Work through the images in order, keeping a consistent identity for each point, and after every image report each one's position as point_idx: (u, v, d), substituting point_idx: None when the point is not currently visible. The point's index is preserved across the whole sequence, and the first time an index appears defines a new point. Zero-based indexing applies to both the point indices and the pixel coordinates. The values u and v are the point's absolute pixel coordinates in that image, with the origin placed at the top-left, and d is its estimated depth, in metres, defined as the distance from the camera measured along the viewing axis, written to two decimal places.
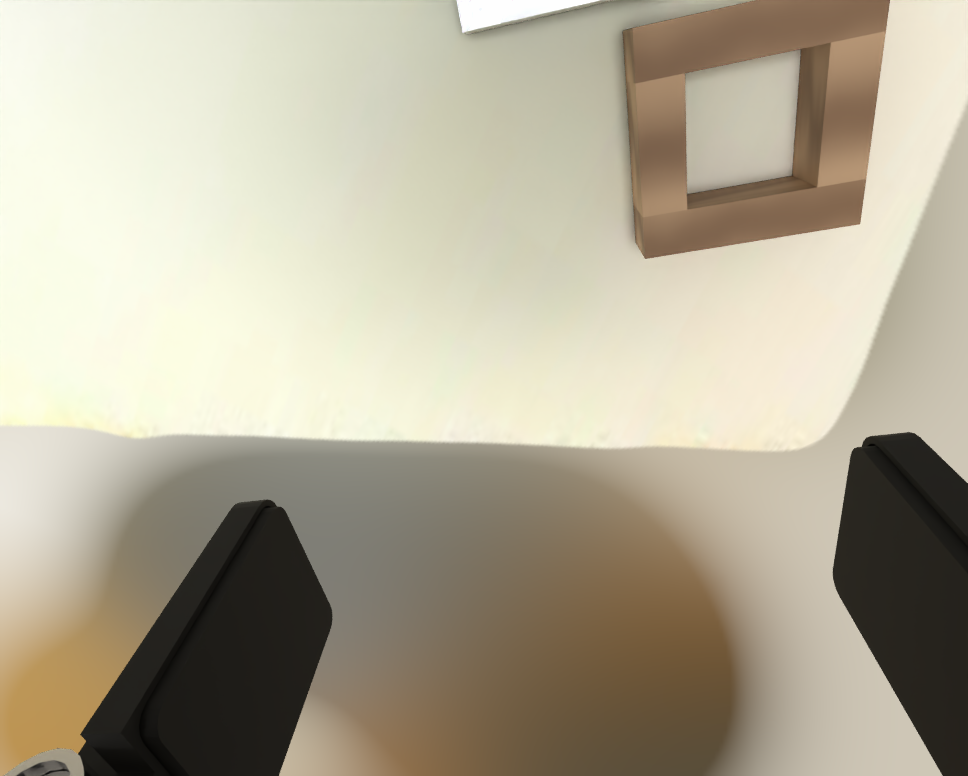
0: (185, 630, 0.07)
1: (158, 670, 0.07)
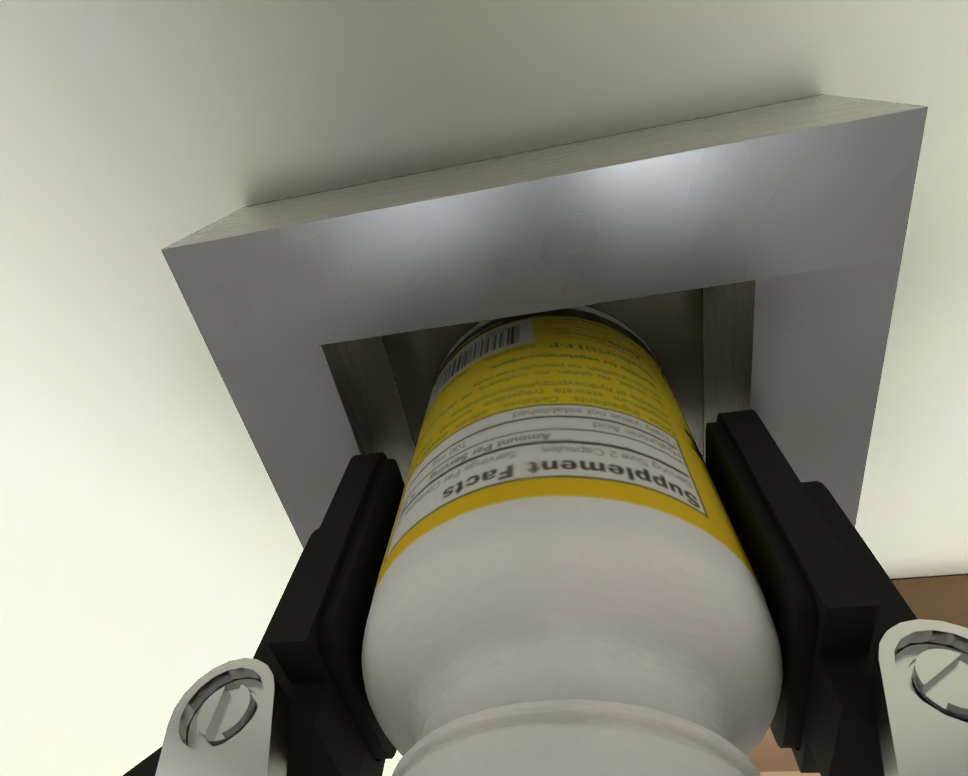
0: (339, 559, 0.08)
1: (325, 592, 0.07)
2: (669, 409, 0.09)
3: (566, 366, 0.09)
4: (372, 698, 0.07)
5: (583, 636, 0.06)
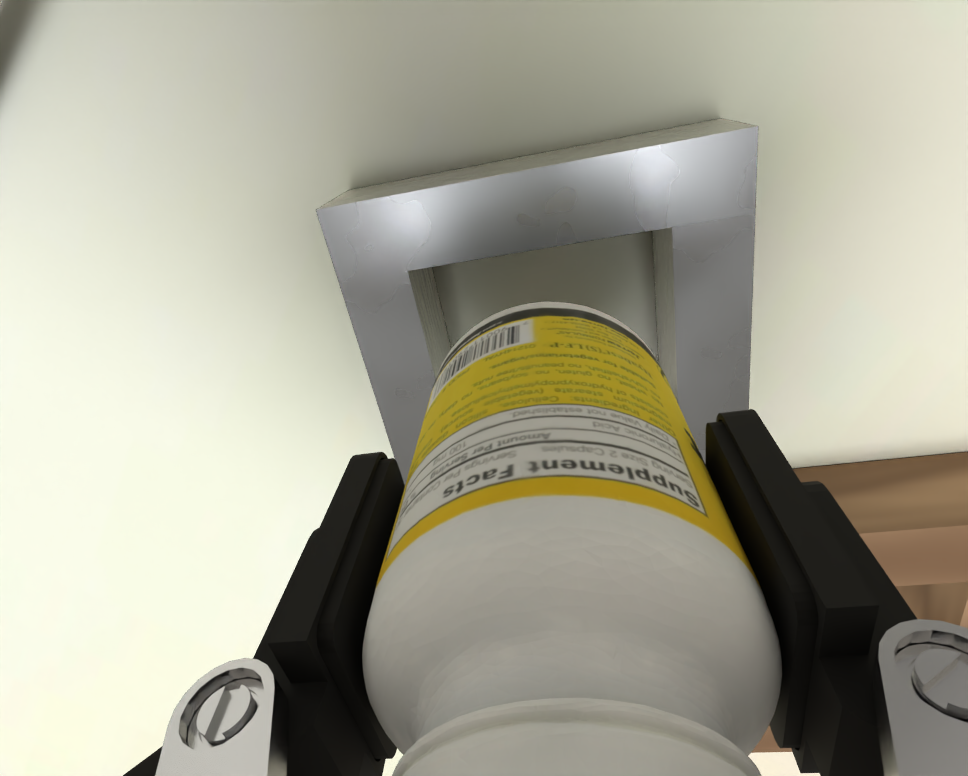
0: (338, 559, 0.08)
1: (325, 591, 0.07)
2: (669, 409, 0.09)
3: (566, 366, 0.09)
4: (373, 697, 0.07)
5: (583, 635, 0.06)
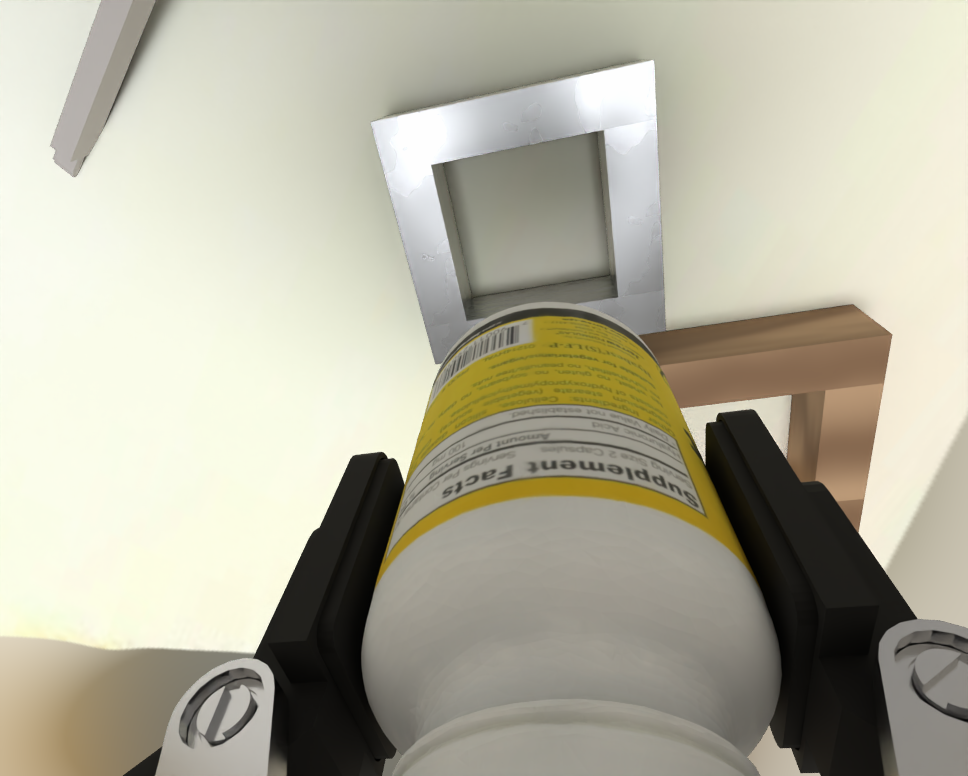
0: (338, 559, 0.08)
1: (325, 591, 0.07)
2: (669, 409, 0.09)
3: (566, 366, 0.09)
4: (372, 698, 0.07)
5: (583, 637, 0.06)
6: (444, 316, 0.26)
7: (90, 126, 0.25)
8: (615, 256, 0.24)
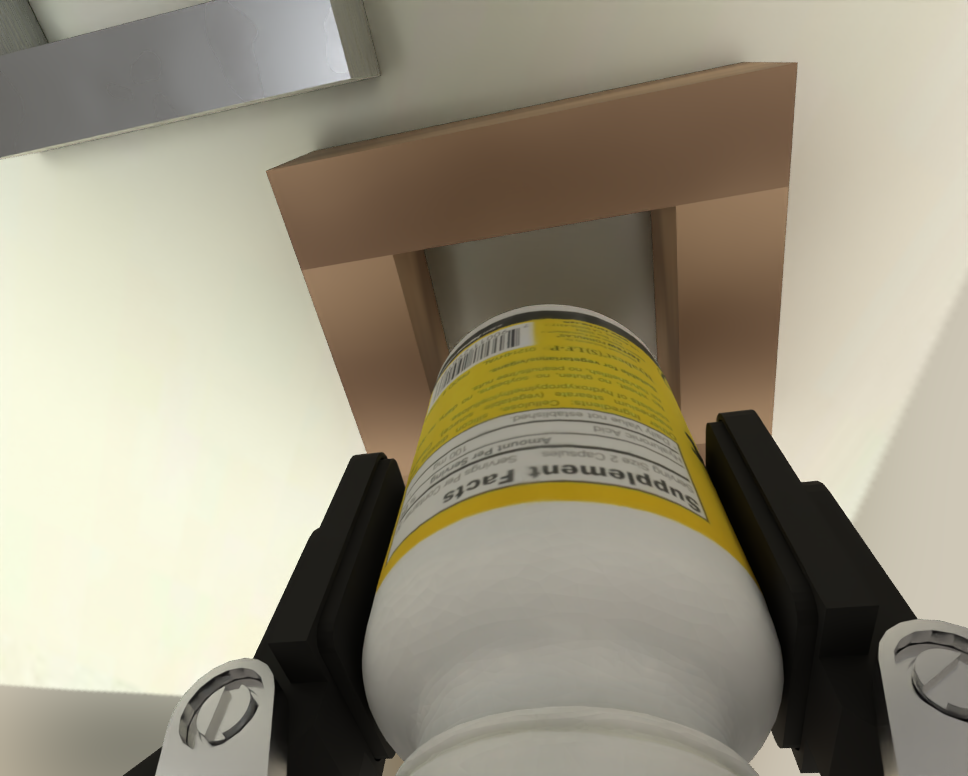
0: (338, 559, 0.08)
1: (325, 590, 0.07)
2: (670, 412, 0.09)
3: (567, 370, 0.09)
4: (372, 703, 0.07)
5: (584, 642, 0.06)
6: None
7: None
8: None
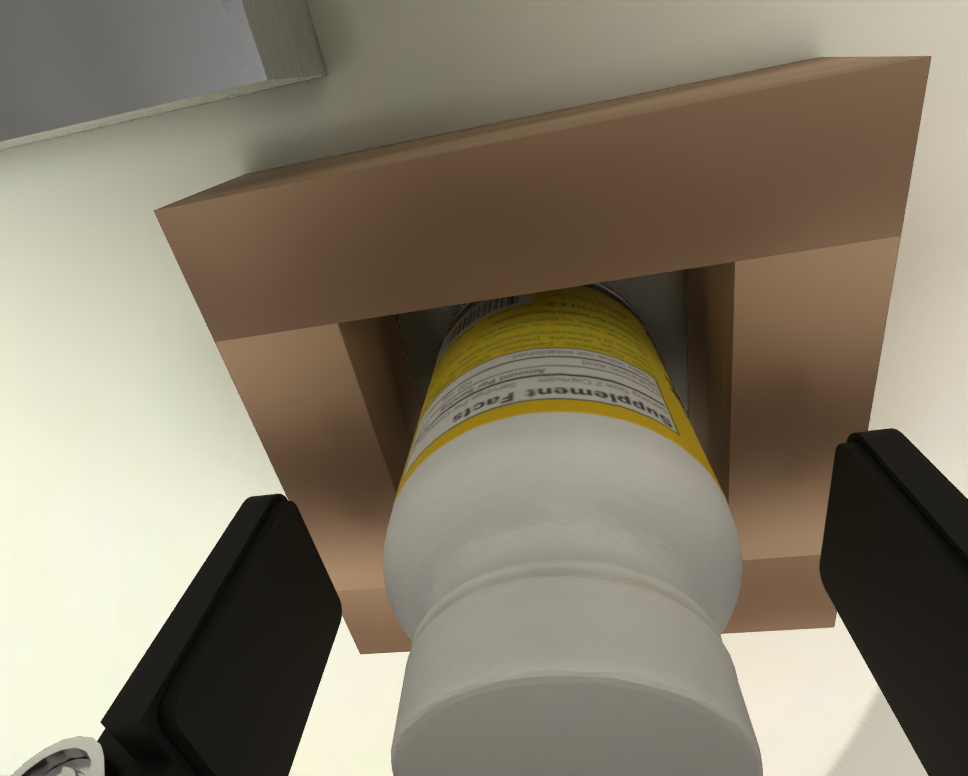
0: (201, 621, 0.07)
1: (177, 660, 0.07)
2: (651, 358, 0.10)
3: (560, 320, 0.10)
4: (392, 591, 0.08)
5: (572, 520, 0.07)
6: None
7: None
8: None
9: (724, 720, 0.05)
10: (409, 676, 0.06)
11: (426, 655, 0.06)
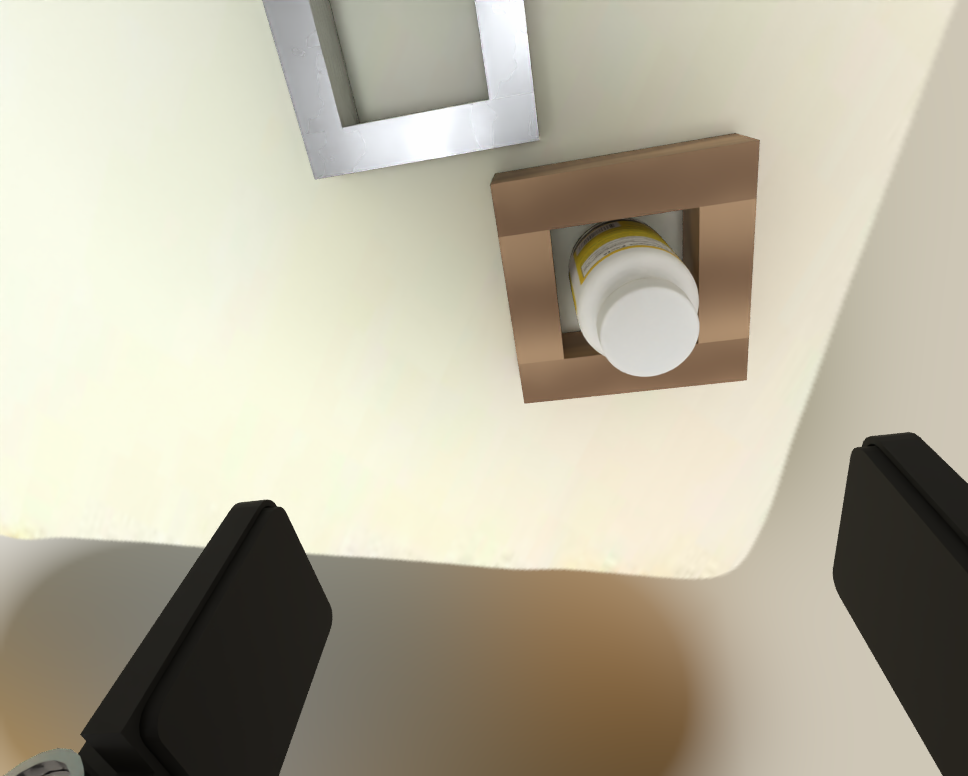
0: (185, 630, 0.07)
1: (159, 670, 0.07)
2: None
3: (634, 230, 0.27)
4: (584, 308, 0.25)
5: (647, 273, 0.24)
6: (319, 122, 0.26)
7: None
8: (483, 51, 0.24)
9: (689, 303, 0.22)
10: (604, 308, 0.23)
11: (610, 299, 0.23)
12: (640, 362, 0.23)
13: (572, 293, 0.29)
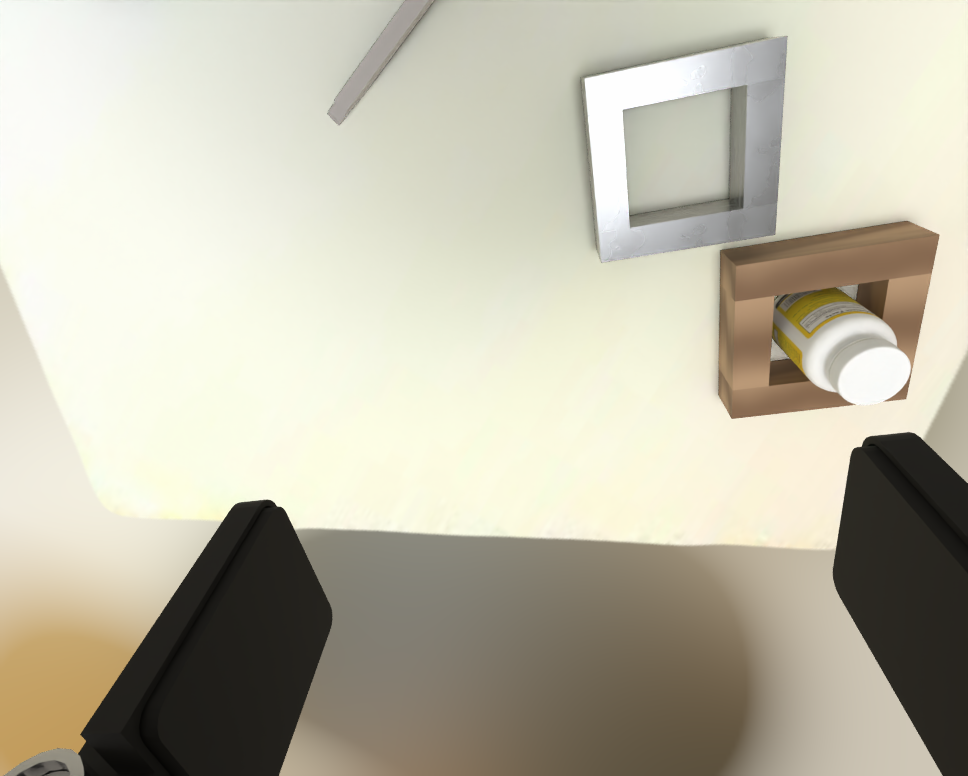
0: (185, 630, 0.07)
1: (159, 670, 0.07)
2: None
3: (837, 295, 0.37)
4: (814, 356, 0.35)
5: (866, 333, 0.34)
6: (614, 224, 0.36)
7: (366, 86, 0.35)
8: (744, 177, 0.35)
9: (906, 356, 0.32)
10: (841, 359, 0.34)
11: (846, 353, 0.33)
12: (864, 395, 0.34)
13: (784, 339, 0.39)
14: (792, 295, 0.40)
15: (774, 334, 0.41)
